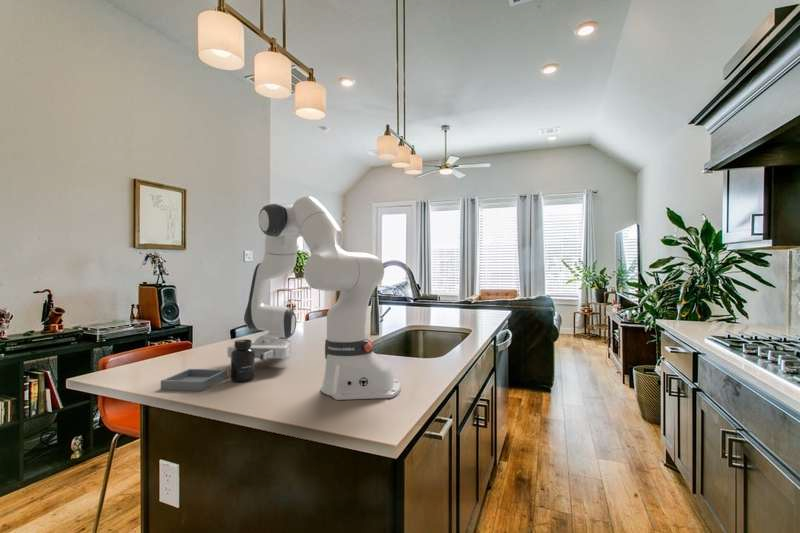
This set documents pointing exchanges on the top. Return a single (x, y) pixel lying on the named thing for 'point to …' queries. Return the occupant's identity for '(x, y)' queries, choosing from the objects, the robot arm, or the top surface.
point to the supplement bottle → (242, 361)
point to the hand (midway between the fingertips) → (248, 356)
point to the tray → (194, 379)
